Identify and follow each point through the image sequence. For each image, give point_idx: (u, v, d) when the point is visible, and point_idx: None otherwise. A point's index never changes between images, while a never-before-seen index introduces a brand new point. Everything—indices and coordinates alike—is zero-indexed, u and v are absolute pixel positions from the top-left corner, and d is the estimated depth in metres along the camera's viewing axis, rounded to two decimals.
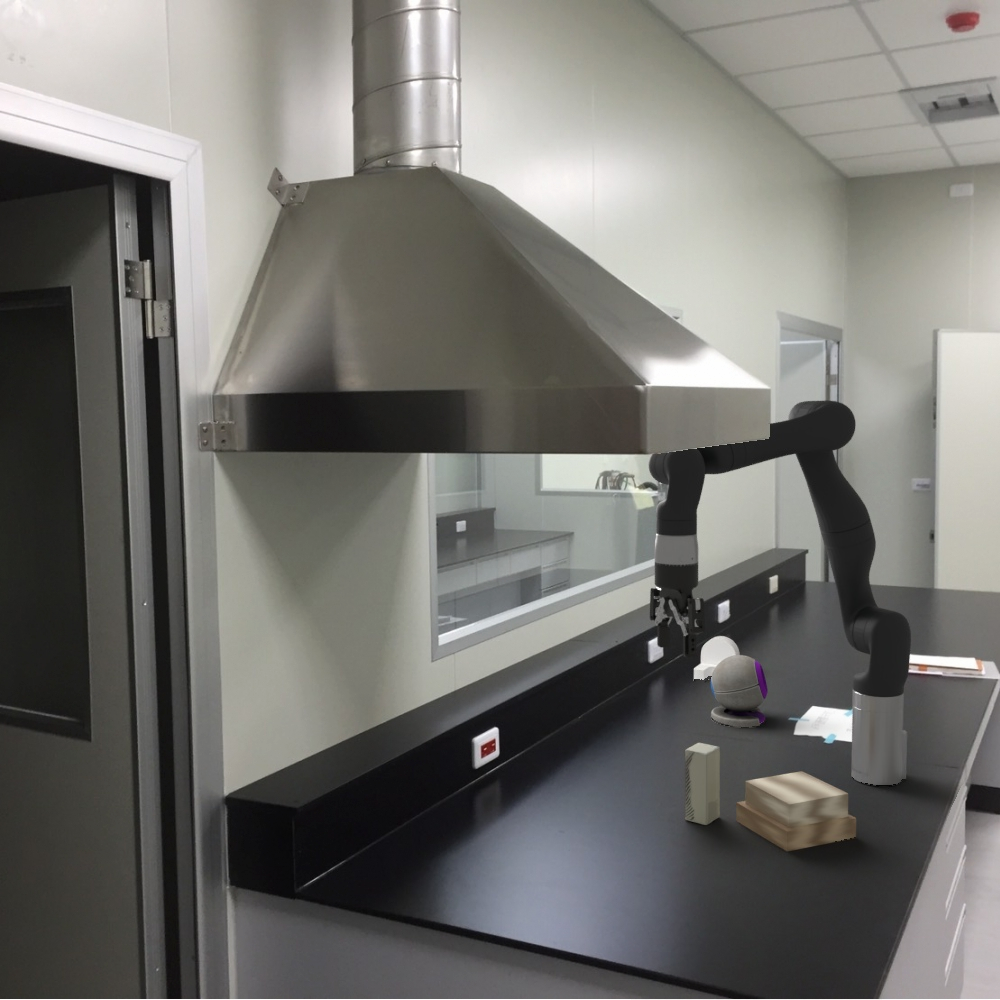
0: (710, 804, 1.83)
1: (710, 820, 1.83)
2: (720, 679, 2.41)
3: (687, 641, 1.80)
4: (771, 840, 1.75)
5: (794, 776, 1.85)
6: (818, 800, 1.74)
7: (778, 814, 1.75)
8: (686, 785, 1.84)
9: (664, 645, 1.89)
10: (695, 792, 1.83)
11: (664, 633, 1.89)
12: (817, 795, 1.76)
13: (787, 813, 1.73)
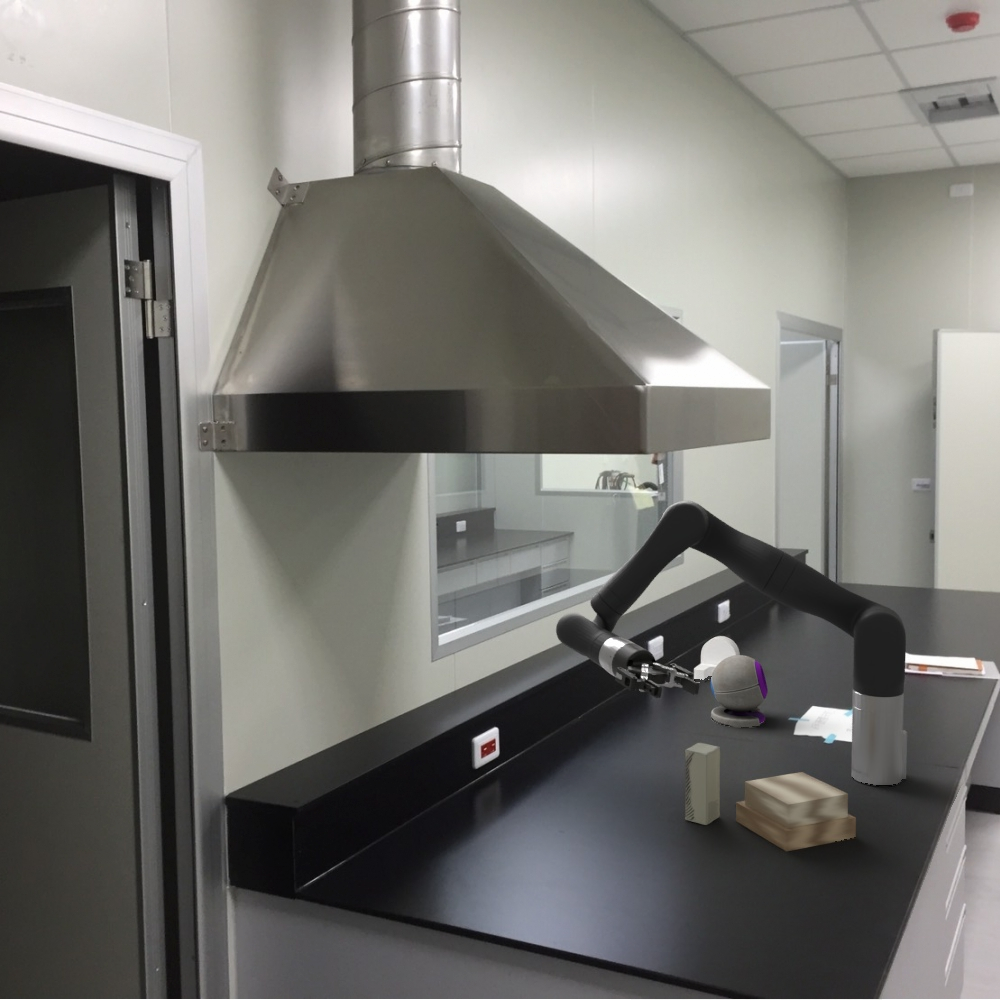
0: (710, 804, 1.83)
1: (710, 820, 1.83)
2: (720, 679, 2.41)
3: None
4: (771, 840, 1.75)
5: (794, 777, 1.85)
6: (817, 800, 1.74)
7: (777, 815, 1.75)
8: (686, 785, 1.84)
9: (694, 689, 1.93)
10: (695, 792, 1.83)
11: (687, 685, 1.95)
12: (816, 795, 1.76)
13: (786, 813, 1.72)
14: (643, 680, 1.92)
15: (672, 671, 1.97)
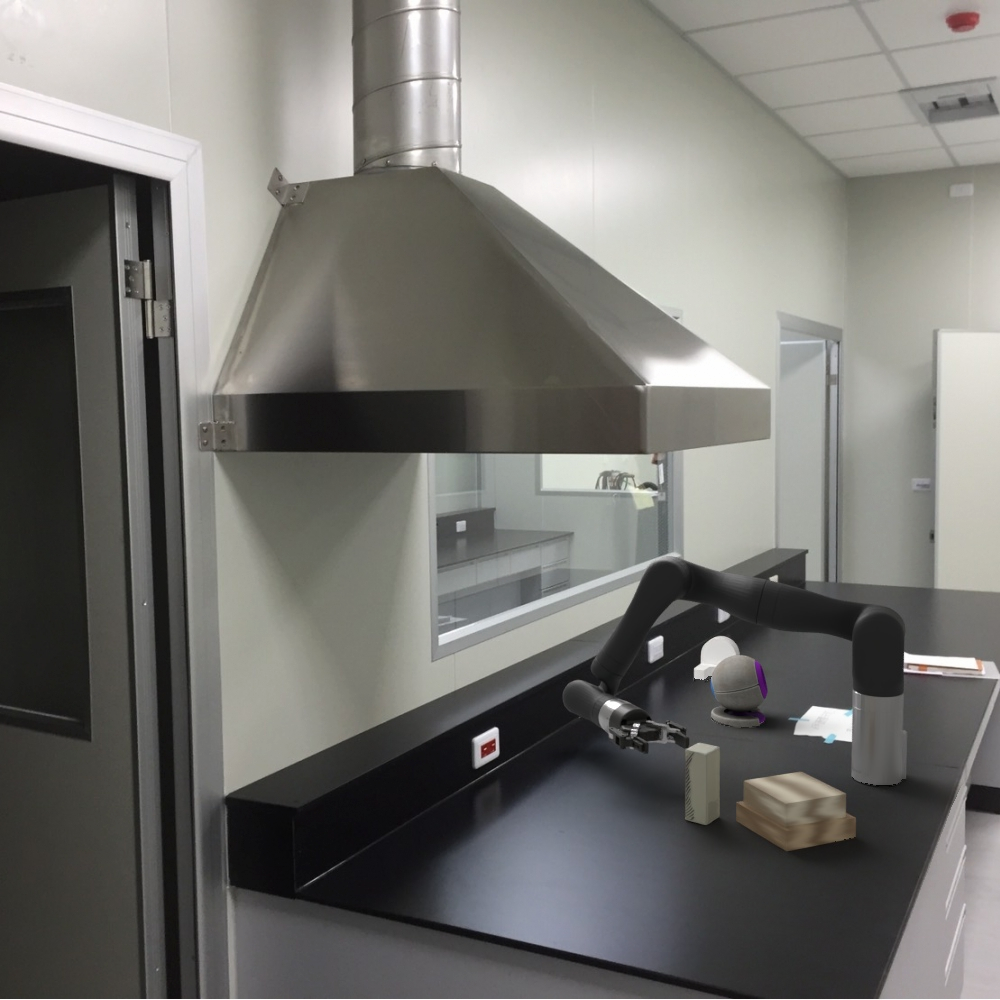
0: (710, 804, 1.83)
1: (710, 820, 1.83)
2: (720, 679, 2.41)
3: None
4: (771, 840, 1.75)
5: (793, 776, 1.85)
6: (815, 800, 1.74)
7: (775, 814, 1.75)
8: (686, 785, 1.84)
9: (684, 743, 1.97)
10: (695, 792, 1.83)
11: (678, 739, 1.99)
12: (814, 795, 1.76)
13: (784, 813, 1.73)
14: (632, 737, 1.97)
15: (664, 727, 2.01)
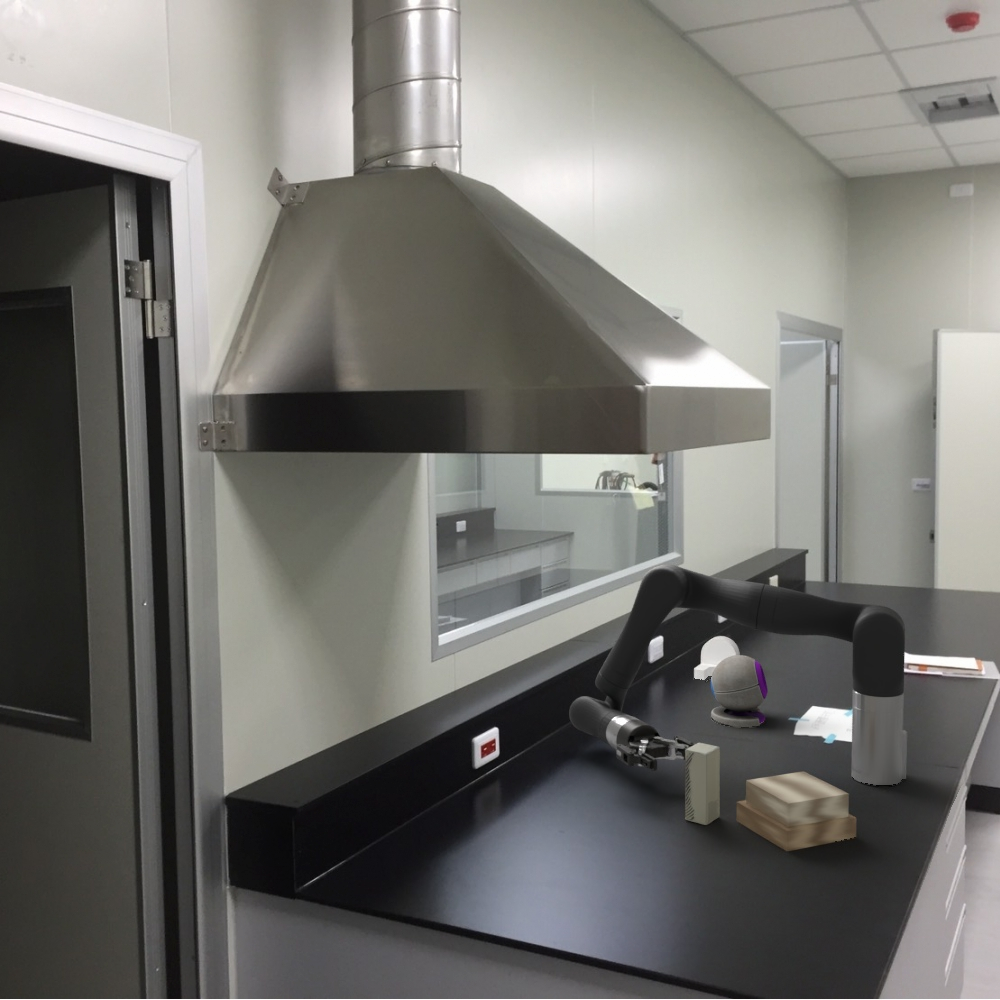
0: (710, 804, 1.83)
1: (710, 820, 1.83)
2: (720, 679, 2.41)
3: None
4: (771, 839, 1.75)
5: (795, 776, 1.85)
6: (817, 800, 1.74)
7: (777, 814, 1.75)
8: (686, 785, 1.84)
9: None
10: (695, 792, 1.83)
11: None
12: (817, 795, 1.76)
13: (787, 812, 1.73)
14: (640, 754, 1.95)
15: (672, 743, 1.99)
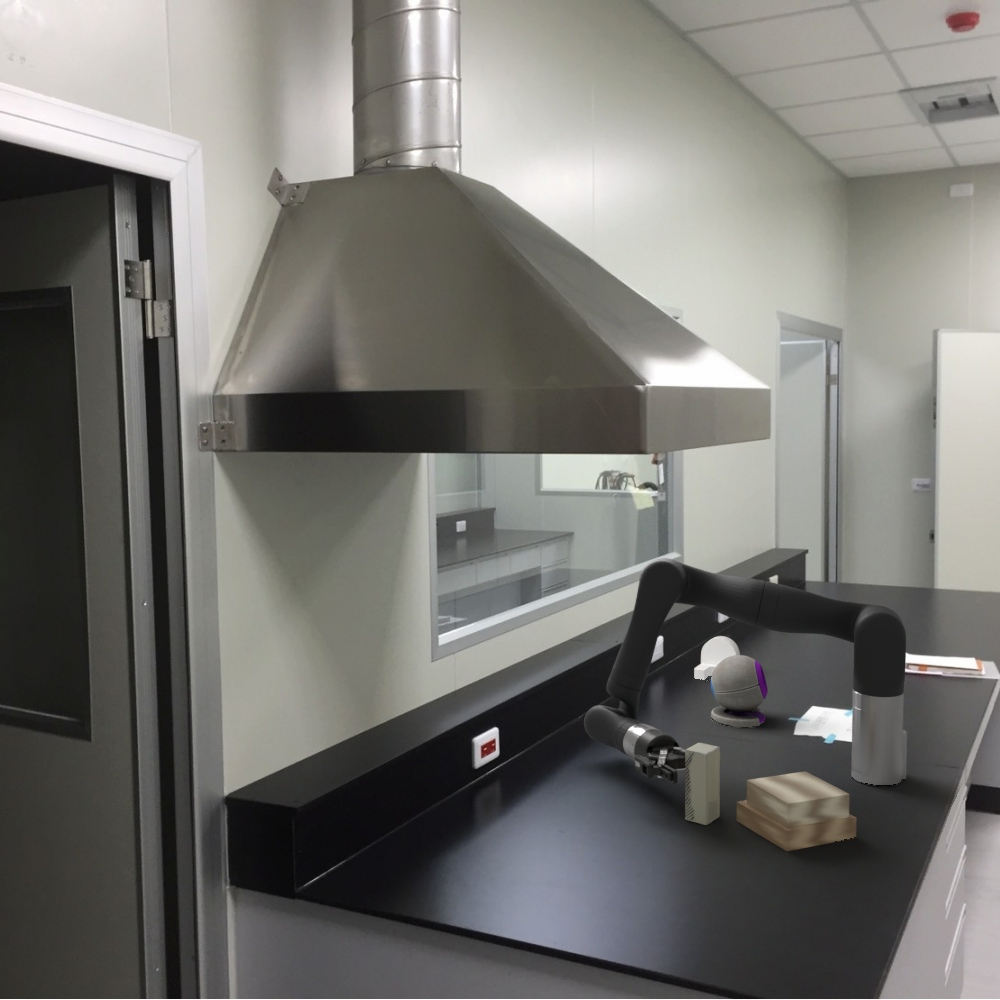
0: (710, 804, 1.83)
1: (710, 820, 1.83)
2: (720, 679, 2.41)
3: None
4: (771, 839, 1.75)
5: (797, 776, 1.85)
6: (818, 800, 1.74)
7: (777, 814, 1.75)
8: (686, 785, 1.84)
9: None
10: (695, 792, 1.83)
11: None
12: (817, 795, 1.76)
13: (787, 813, 1.73)
14: (659, 766, 1.88)
15: None
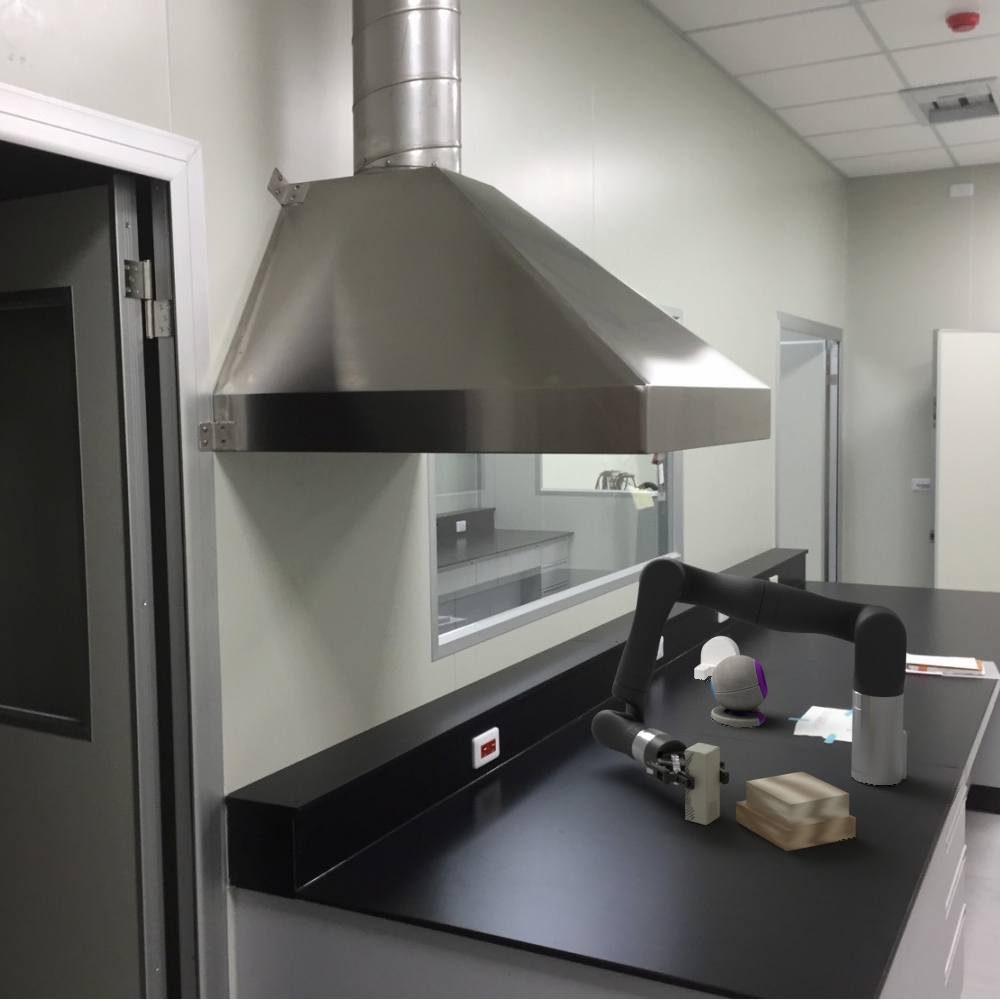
0: (710, 804, 1.83)
1: (710, 820, 1.83)
2: (720, 679, 2.41)
3: None
4: (771, 840, 1.75)
5: (795, 776, 1.85)
6: (819, 800, 1.74)
7: (779, 815, 1.75)
8: None
9: (724, 778, 1.84)
10: (695, 792, 1.83)
11: None
12: (818, 795, 1.76)
13: (789, 813, 1.73)
14: (676, 772, 1.84)
15: None
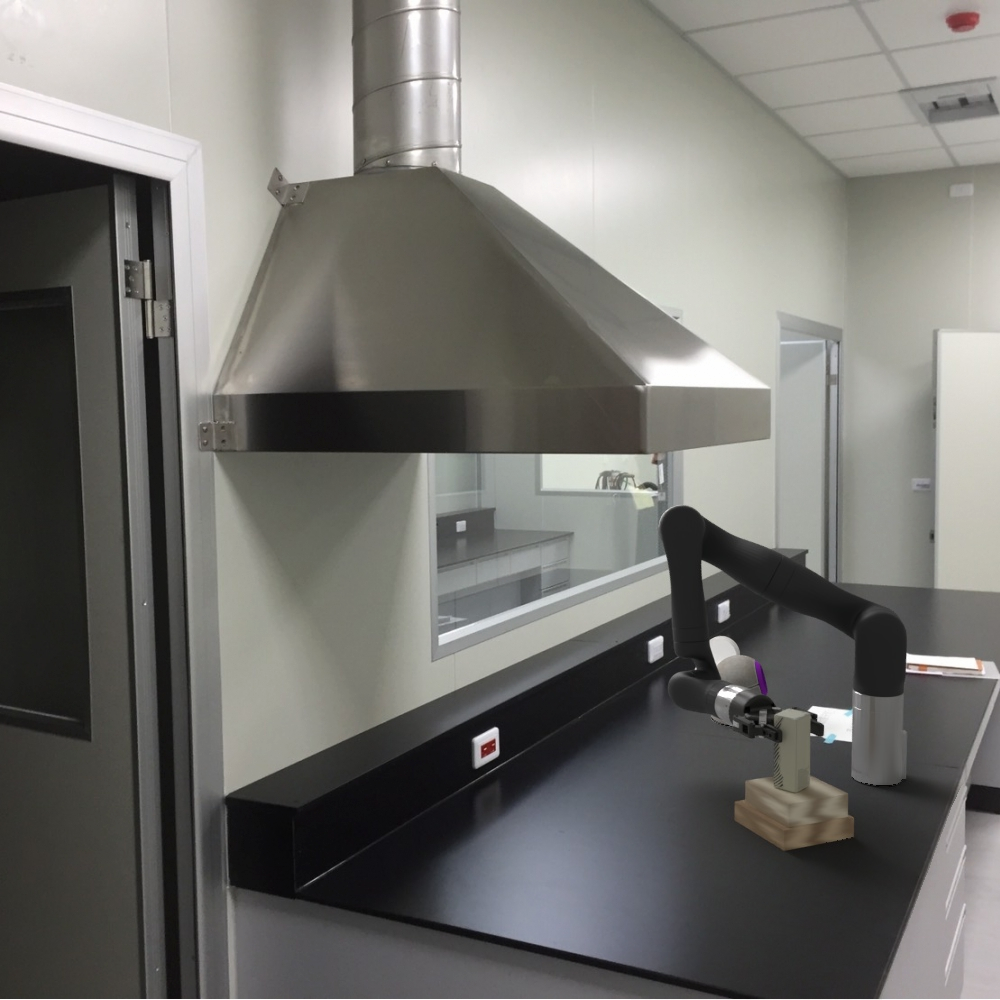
0: (800, 771, 1.77)
1: (800, 788, 1.78)
2: None
3: None
4: (768, 839, 1.75)
5: None
6: (817, 800, 1.74)
7: (777, 814, 1.75)
8: (775, 752, 1.79)
9: (819, 730, 1.80)
10: (784, 758, 1.78)
11: (811, 727, 1.82)
12: (817, 795, 1.76)
13: (787, 813, 1.73)
14: (761, 725, 1.79)
15: None
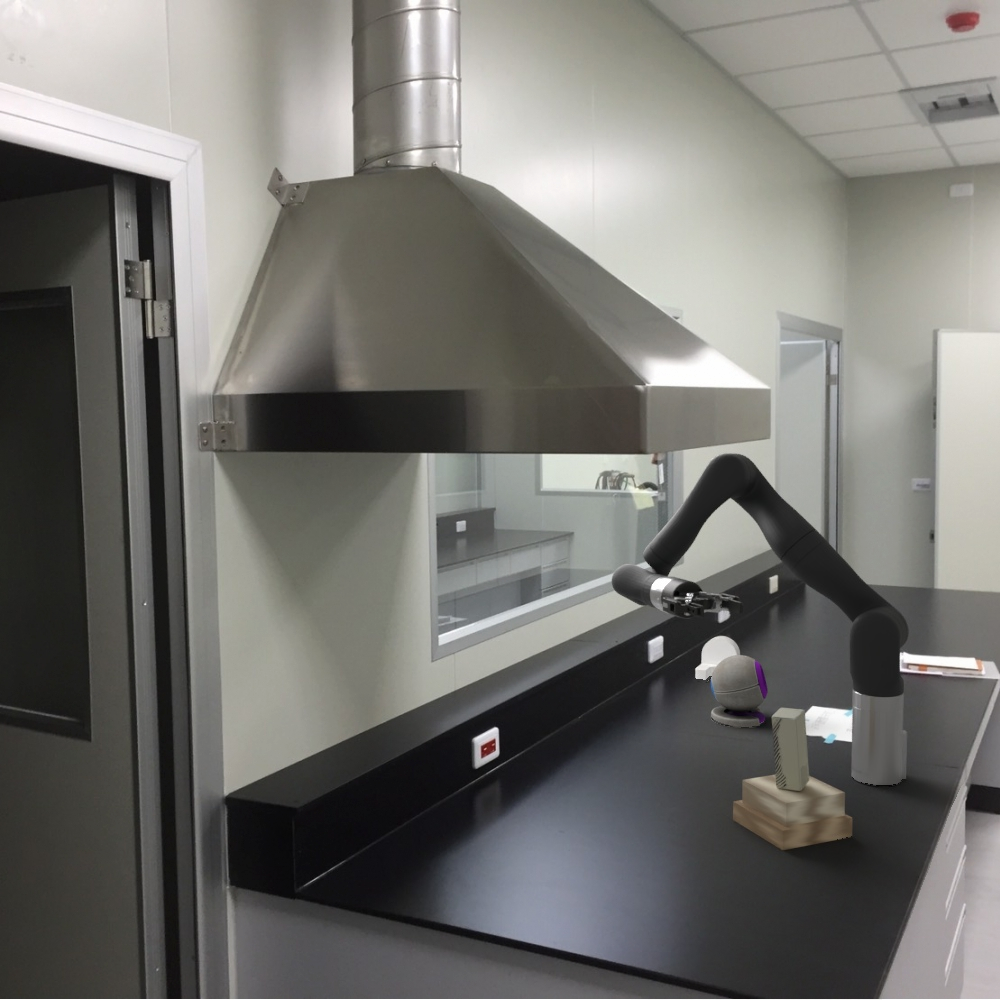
0: (802, 769, 1.78)
1: (803, 785, 1.78)
2: (720, 679, 2.41)
3: None
4: (767, 839, 1.76)
5: None
6: (814, 799, 1.75)
7: (775, 813, 1.76)
8: (775, 753, 1.79)
9: (738, 608, 2.00)
10: (785, 758, 1.78)
11: (732, 606, 2.02)
12: (814, 794, 1.77)
13: (784, 812, 1.73)
14: (686, 603, 2.00)
15: (717, 596, 2.05)
